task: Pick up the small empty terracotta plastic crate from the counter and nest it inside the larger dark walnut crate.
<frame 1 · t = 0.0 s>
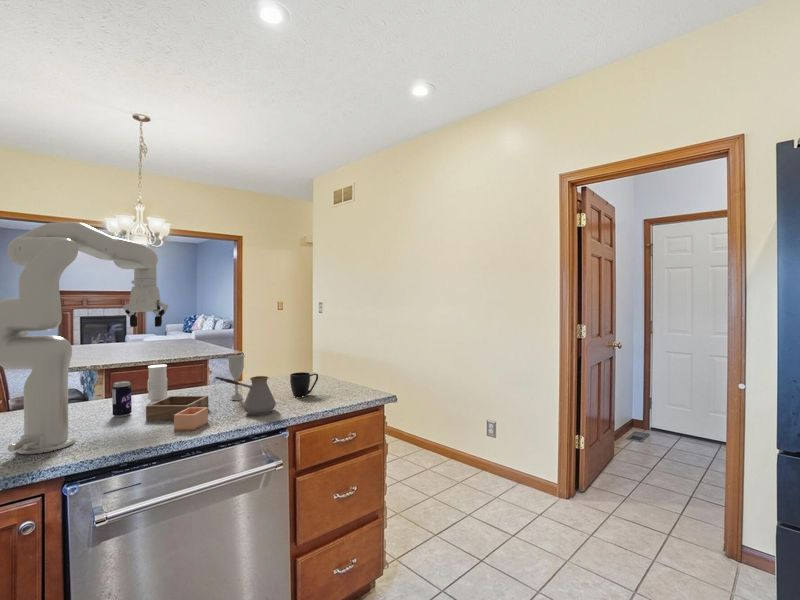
hand: (145, 326, 161), 31 cm above the worktop, tool pointing down, fingers open, 9 cm apart
walnut crate: (178, 414, 148), on the worktop
beverage can: (122, 416, 147), on the worktop
coffee pot: (245, 415, 146), on the worktop
chalice: (236, 399, 170), on the worktop
terracotta crate: (191, 426, 134), on the worktop
mug: (304, 396, 175), on the worktop
candle: (157, 403, 165), on the worktop
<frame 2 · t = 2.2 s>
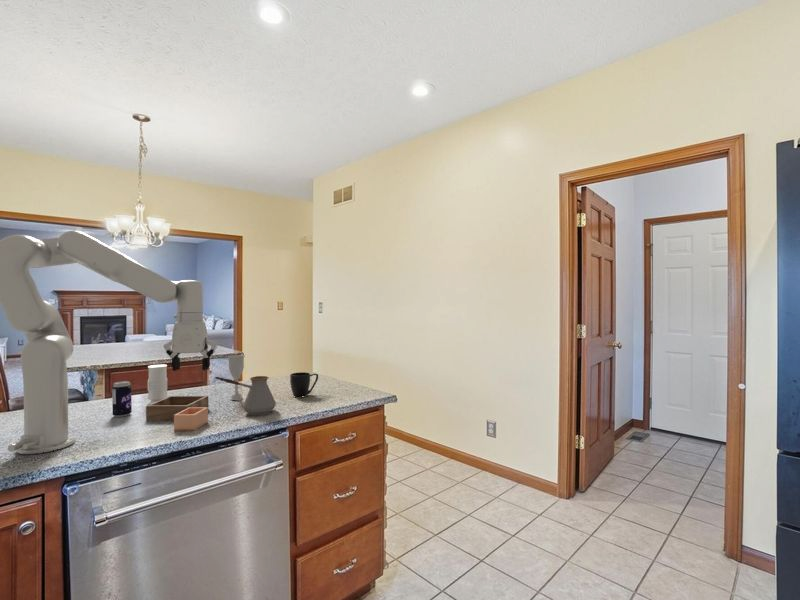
hand: (191, 369, 134), 19 cm above the worktop, tool pointing down, fingers open, 9 cm apart
nothing on the worktop moved.
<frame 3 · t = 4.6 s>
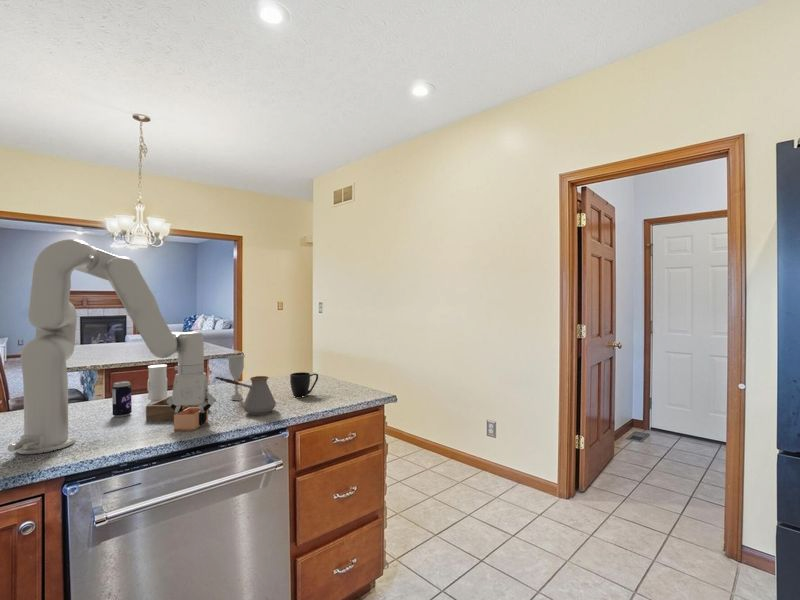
hand: (191, 423, 133), 1 cm above the worktop, tool pointing down, fingers closed on terracotta crate, 6 cm apart
terracotta crate: (191, 426, 133), on the worktop, touching gripper
everything else where it was.
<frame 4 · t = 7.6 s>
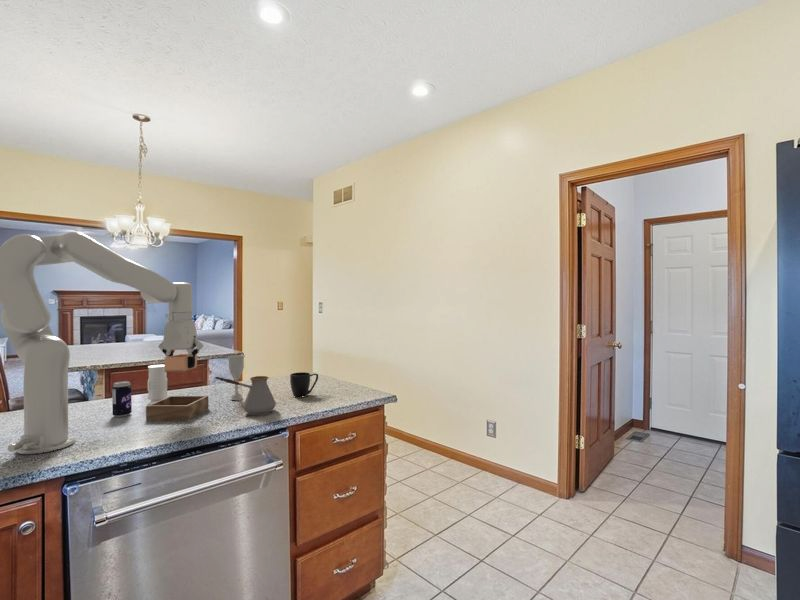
hand: (181, 367, 145), 18 cm above the worktop, tool pointing down, fingers closed on terracotta crate, 6 cm apart
terracotta crate: (181, 369, 145), point 17 cm above the worktop, touching gripper
everything else where it was.
when the fingers open (3 cm above the worktop, at t = 10.6 s): terracotta crate drops 1 cm, resting on walnut crate.
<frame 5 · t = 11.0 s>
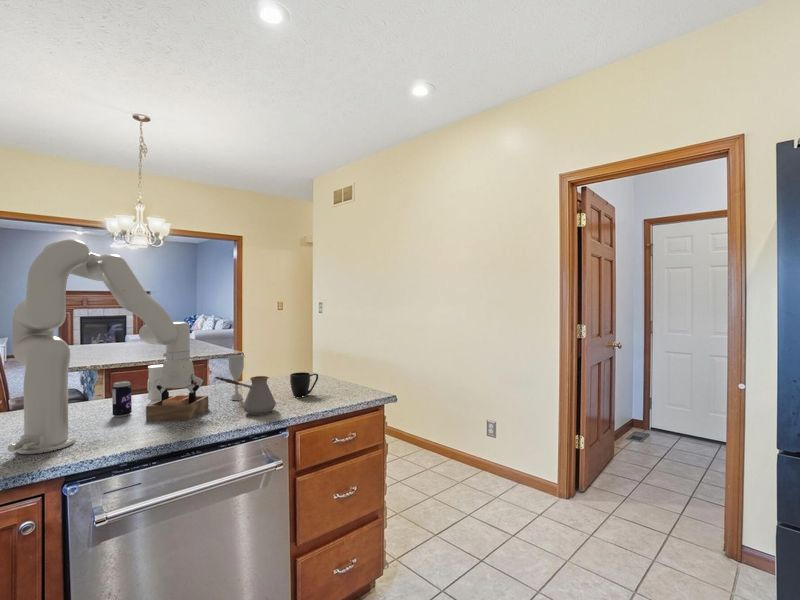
hand: (178, 403, 148), 4 cm above the worktop, tool pointing down, fingers open, 9 cm apart
terracotta crate: (178, 411, 148), point 1 cm above the worktop, touching walnut crate
everything else where it was.
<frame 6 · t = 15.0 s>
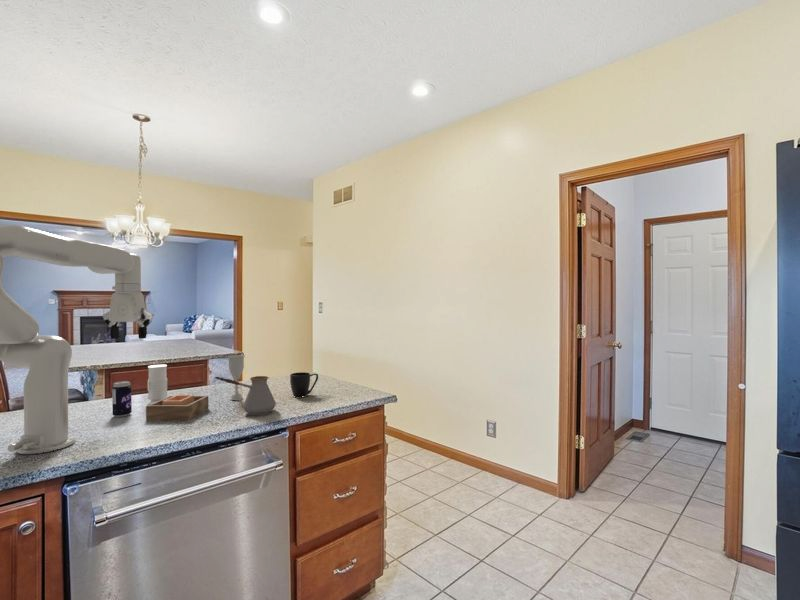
hand: (128, 338, 142), 28 cm above the worktop, tool pointing down, fingers open, 9 cm apart
nothing on the worktop moved.
at the end: terracotta crate 0.0 cm off-centre on the walnut crate, point 1.0 cm above the walnut crate's base; terracotta crate tilted 0°; the gripper is holding nothing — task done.
